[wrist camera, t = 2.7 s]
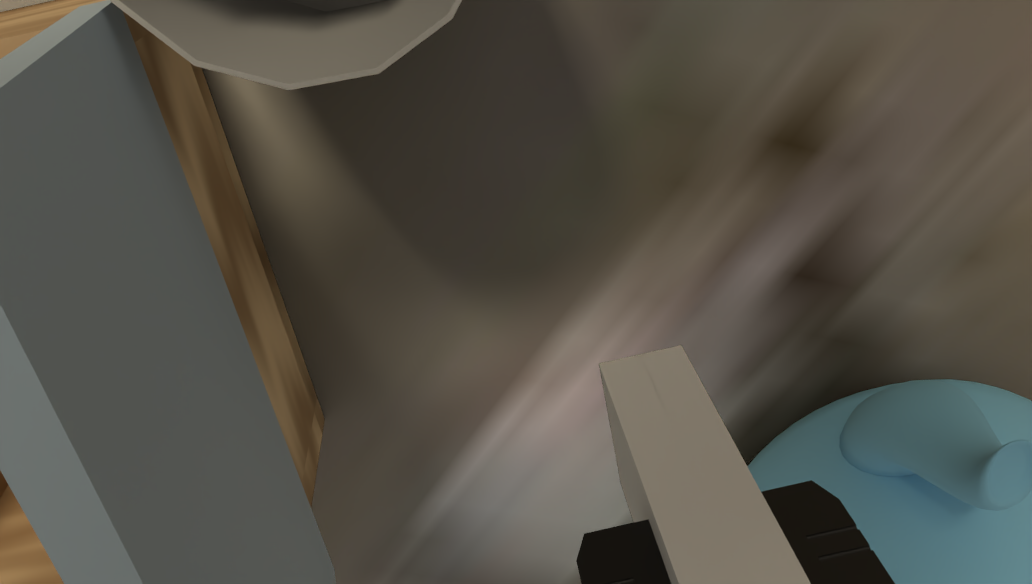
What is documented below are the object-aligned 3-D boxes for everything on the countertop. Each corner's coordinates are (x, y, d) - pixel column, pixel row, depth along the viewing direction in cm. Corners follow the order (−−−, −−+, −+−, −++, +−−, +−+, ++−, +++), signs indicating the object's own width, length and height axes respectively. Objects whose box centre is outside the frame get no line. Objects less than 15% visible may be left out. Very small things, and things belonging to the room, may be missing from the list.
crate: (-234, 63, 27) (-470, 142, 20) (169, -25, 27) (80, 21, 20) (7, 489, 34) (-101, 662, 27) (324, 419, 34) (301, 572, 27)
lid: (-168, 171, 8) (-80, 149, 9) (79, 6, 19) (117, -3, 20) (333, 1061, 16) (377, 1043, 16) (307, 578, 27) (334, 569, 27)
